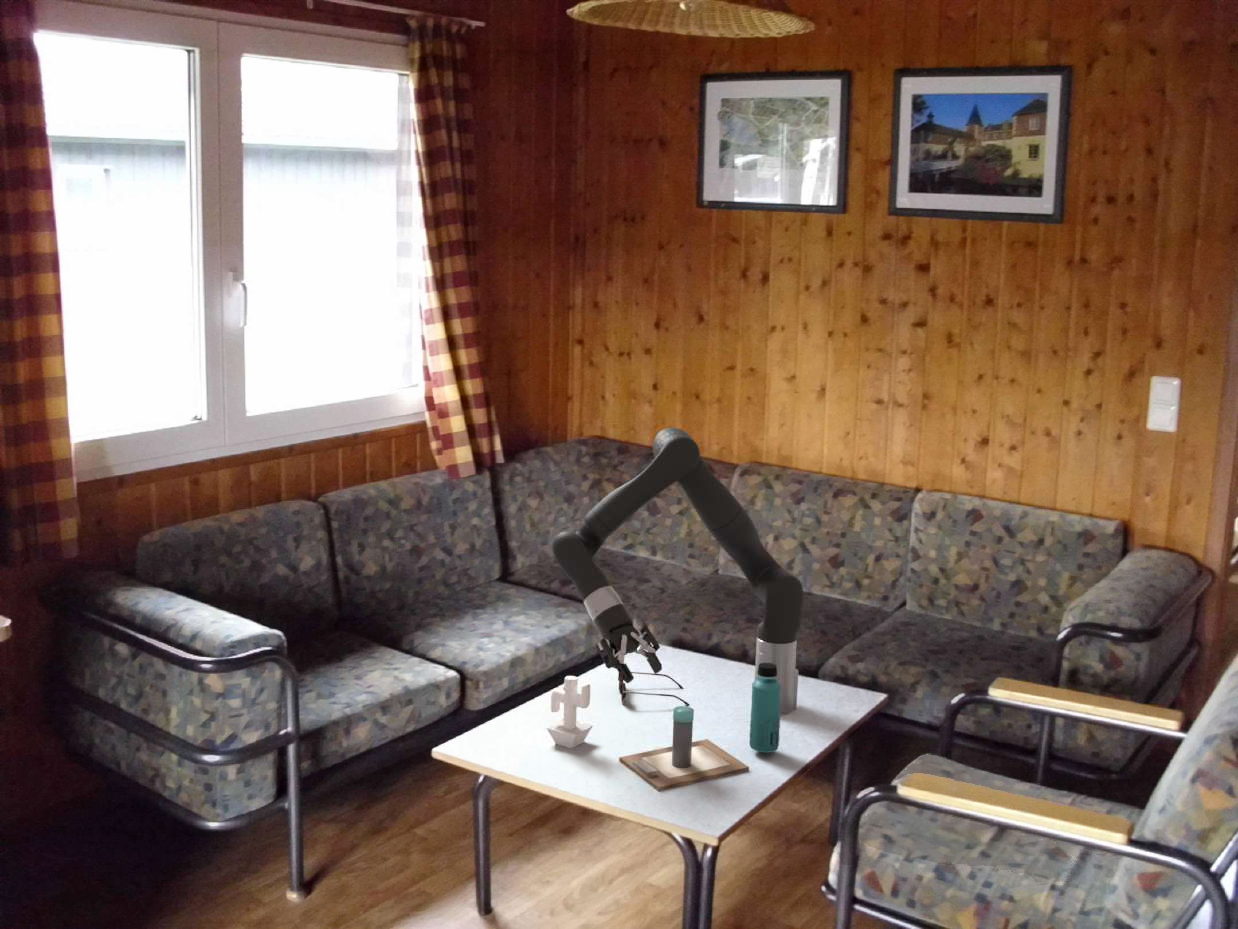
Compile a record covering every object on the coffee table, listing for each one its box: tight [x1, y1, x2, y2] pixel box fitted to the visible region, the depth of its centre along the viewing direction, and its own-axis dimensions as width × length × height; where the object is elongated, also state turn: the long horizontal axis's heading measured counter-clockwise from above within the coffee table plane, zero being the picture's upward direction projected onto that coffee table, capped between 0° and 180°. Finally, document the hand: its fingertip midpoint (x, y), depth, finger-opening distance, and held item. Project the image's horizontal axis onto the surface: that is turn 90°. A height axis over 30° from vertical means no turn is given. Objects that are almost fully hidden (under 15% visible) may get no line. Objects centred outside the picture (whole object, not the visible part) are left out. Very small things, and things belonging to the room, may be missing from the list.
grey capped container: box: [672, 705, 695, 768], centre depth 279 cm, size 4×4×12 cm
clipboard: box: [618, 738, 750, 792], centre depth 281 cm, size 22×16×2 cm
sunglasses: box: [617, 671, 690, 706], centre depth 319 cm, size 14×16×5 cm
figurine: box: [546, 675, 594, 749], centre depth 290 cm, size 7×9×15 cm
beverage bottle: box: [748, 662, 781, 753], centre depth 287 cm, size 6×7×20 cm
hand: (644, 676), depth 285 cm, fingers open, 8 cm apart
